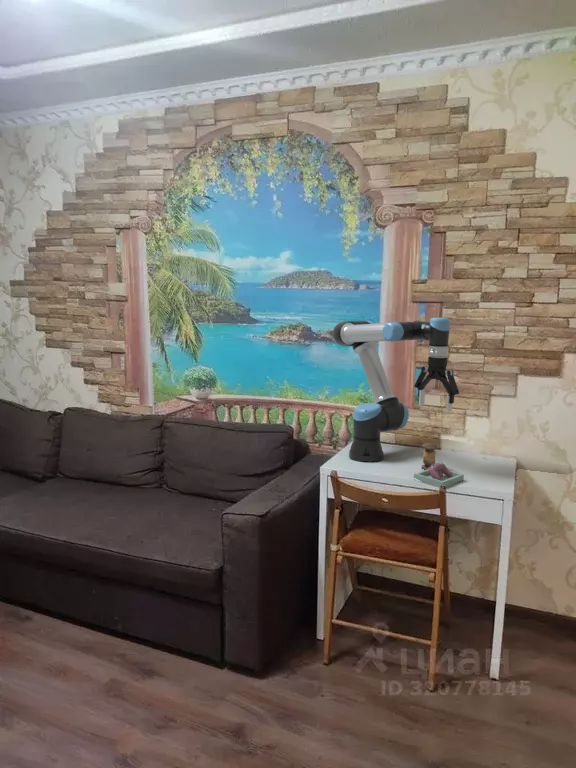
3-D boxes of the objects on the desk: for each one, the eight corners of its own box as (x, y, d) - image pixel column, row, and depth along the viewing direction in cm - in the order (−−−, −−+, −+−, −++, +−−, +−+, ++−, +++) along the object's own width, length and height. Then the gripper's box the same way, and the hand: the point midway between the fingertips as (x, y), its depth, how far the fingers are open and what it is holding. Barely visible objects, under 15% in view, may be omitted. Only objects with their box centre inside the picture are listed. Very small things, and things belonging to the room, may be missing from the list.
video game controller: (444, 478, 228) (437, 461, 229) (453, 476, 224) (447, 458, 226) (430, 484, 221) (424, 467, 222) (440, 481, 218) (433, 464, 219)
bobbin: (418, 468, 237) (419, 445, 236) (427, 465, 241) (428, 442, 240) (430, 472, 233) (431, 448, 231) (439, 469, 237) (440, 445, 235)
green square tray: (413, 479, 223) (414, 473, 223) (435, 472, 232) (435, 466, 232) (442, 488, 214) (442, 482, 213) (463, 480, 223) (463, 474, 222)
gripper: (407, 353, 238) (404, 404, 242) (458, 360, 219) (455, 415, 223) (418, 352, 243) (416, 401, 247) (470, 359, 224) (466, 412, 227)
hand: (434, 408), depth 235 cm, fingers open, 13 cm apart
